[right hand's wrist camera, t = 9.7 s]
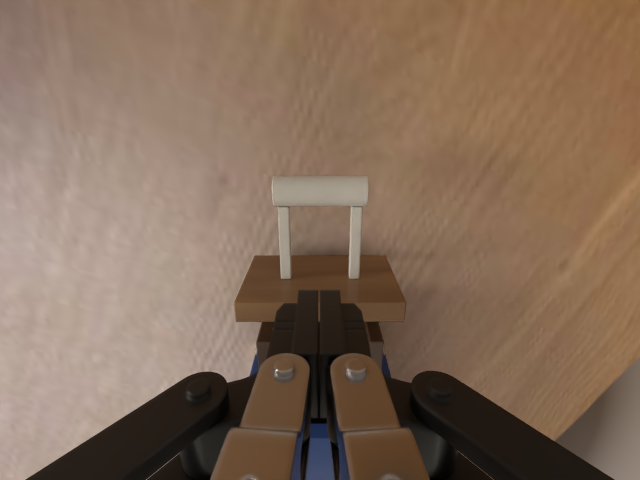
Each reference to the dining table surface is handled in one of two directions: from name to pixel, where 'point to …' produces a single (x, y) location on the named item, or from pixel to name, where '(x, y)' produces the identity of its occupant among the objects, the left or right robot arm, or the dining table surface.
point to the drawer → (320, 267)
